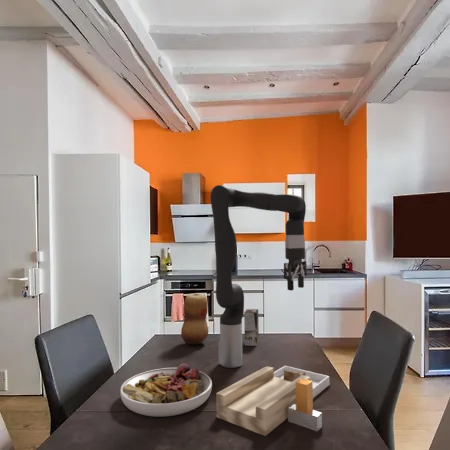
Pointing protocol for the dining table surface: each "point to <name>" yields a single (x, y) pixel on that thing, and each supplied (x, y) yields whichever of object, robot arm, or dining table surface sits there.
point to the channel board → (257, 401)
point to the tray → (317, 379)
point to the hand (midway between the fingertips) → (295, 288)
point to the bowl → (166, 391)
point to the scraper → (304, 407)
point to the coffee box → (251, 327)
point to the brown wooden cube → (291, 375)
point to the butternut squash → (195, 319)
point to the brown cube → (300, 372)
